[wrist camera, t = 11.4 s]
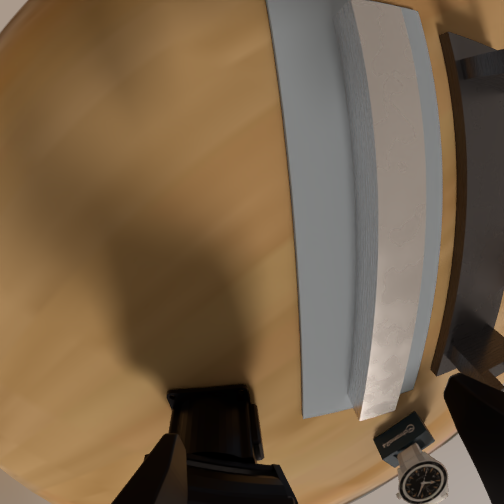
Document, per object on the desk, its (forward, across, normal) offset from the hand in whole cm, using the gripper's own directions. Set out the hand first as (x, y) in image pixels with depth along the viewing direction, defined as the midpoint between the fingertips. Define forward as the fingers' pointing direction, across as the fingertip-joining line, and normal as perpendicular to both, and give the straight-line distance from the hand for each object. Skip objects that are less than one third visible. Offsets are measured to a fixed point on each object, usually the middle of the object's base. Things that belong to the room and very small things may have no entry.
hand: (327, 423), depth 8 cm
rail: (+12, -7, -2) cm, 14 cm away
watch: (+12, -13, +22) cm, 28 cm away
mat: (+12, -7, -2) cm, 14 cm away
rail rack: (+12, -18, -2) cm, 22 cm away
